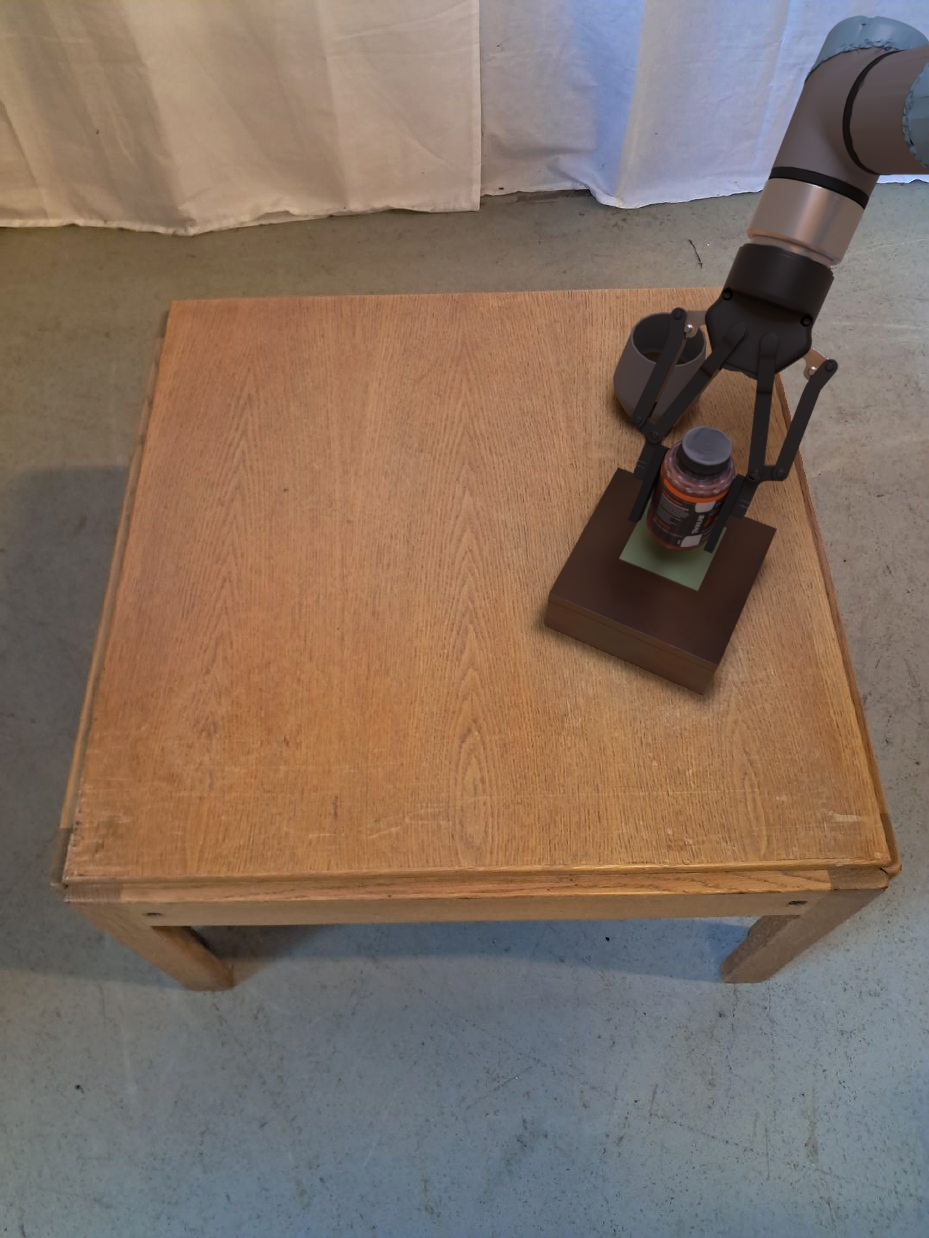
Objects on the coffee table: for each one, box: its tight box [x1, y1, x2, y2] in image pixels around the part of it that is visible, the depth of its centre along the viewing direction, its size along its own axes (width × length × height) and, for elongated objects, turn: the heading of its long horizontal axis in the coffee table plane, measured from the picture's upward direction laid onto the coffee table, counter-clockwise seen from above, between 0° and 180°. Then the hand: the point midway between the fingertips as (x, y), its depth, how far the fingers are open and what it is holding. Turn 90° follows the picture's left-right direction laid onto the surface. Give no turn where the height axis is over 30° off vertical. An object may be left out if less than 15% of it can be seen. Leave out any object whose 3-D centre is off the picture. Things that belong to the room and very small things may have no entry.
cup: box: [612, 311, 708, 423], centre depth 95 cm, size 10×9×10 cm
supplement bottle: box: [646, 425, 736, 551], centre depth 77 cm, size 6×6×11 cm
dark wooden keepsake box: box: [544, 466, 778, 695], centre depth 86 cm, size 16×16×6 cm
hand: (671, 534), depth 77 cm, fingers closed on supplement bottle, 6 cm apart
